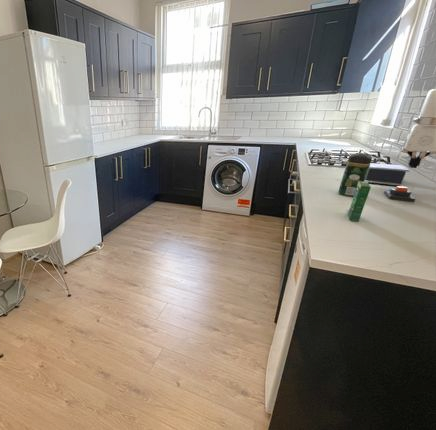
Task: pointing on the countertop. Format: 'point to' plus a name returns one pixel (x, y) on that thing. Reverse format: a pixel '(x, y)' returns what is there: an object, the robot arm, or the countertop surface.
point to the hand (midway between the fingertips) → (412, 167)
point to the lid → (388, 167)
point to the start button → (401, 188)
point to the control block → (399, 195)
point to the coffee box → (359, 200)
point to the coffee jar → (354, 173)
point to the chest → (385, 177)
